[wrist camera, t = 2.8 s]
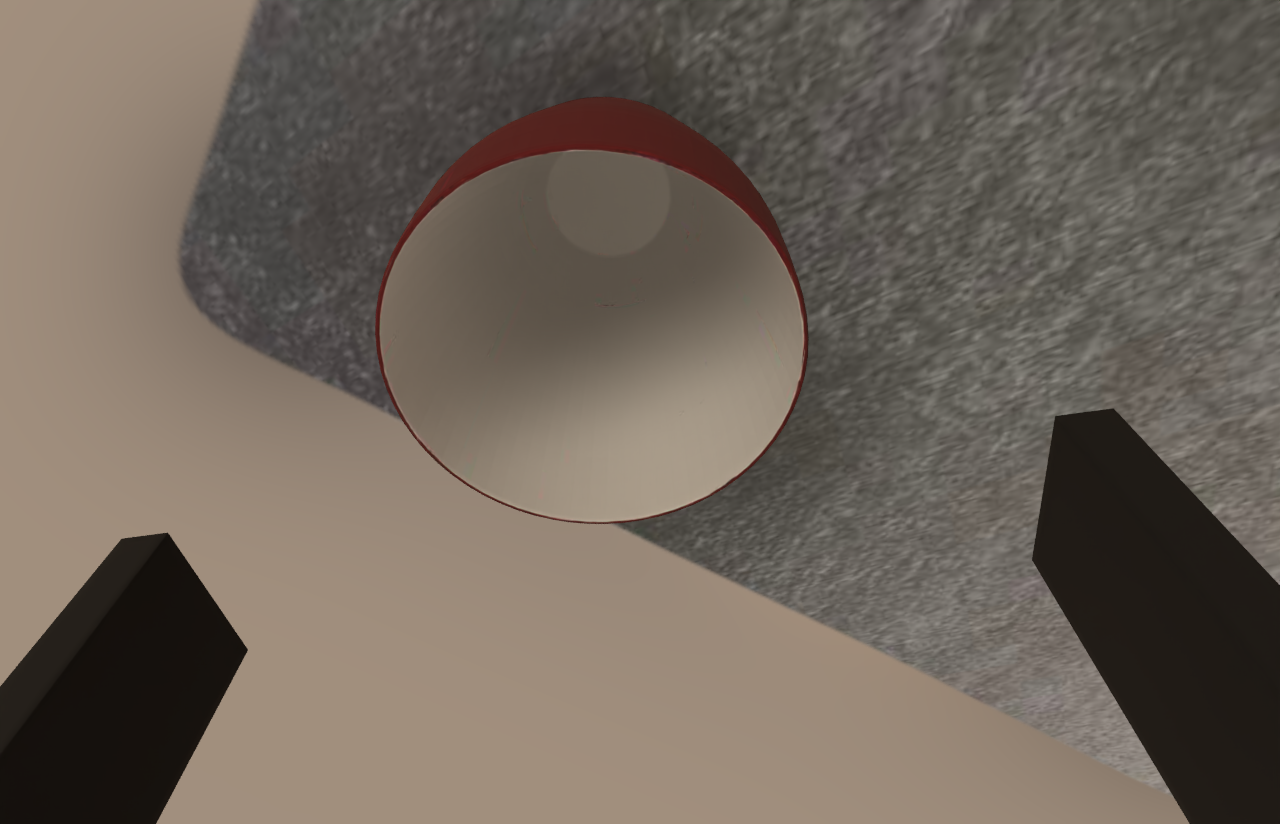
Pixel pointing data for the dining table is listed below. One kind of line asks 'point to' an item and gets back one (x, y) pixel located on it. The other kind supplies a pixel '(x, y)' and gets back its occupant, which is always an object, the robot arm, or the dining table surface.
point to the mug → (593, 317)
